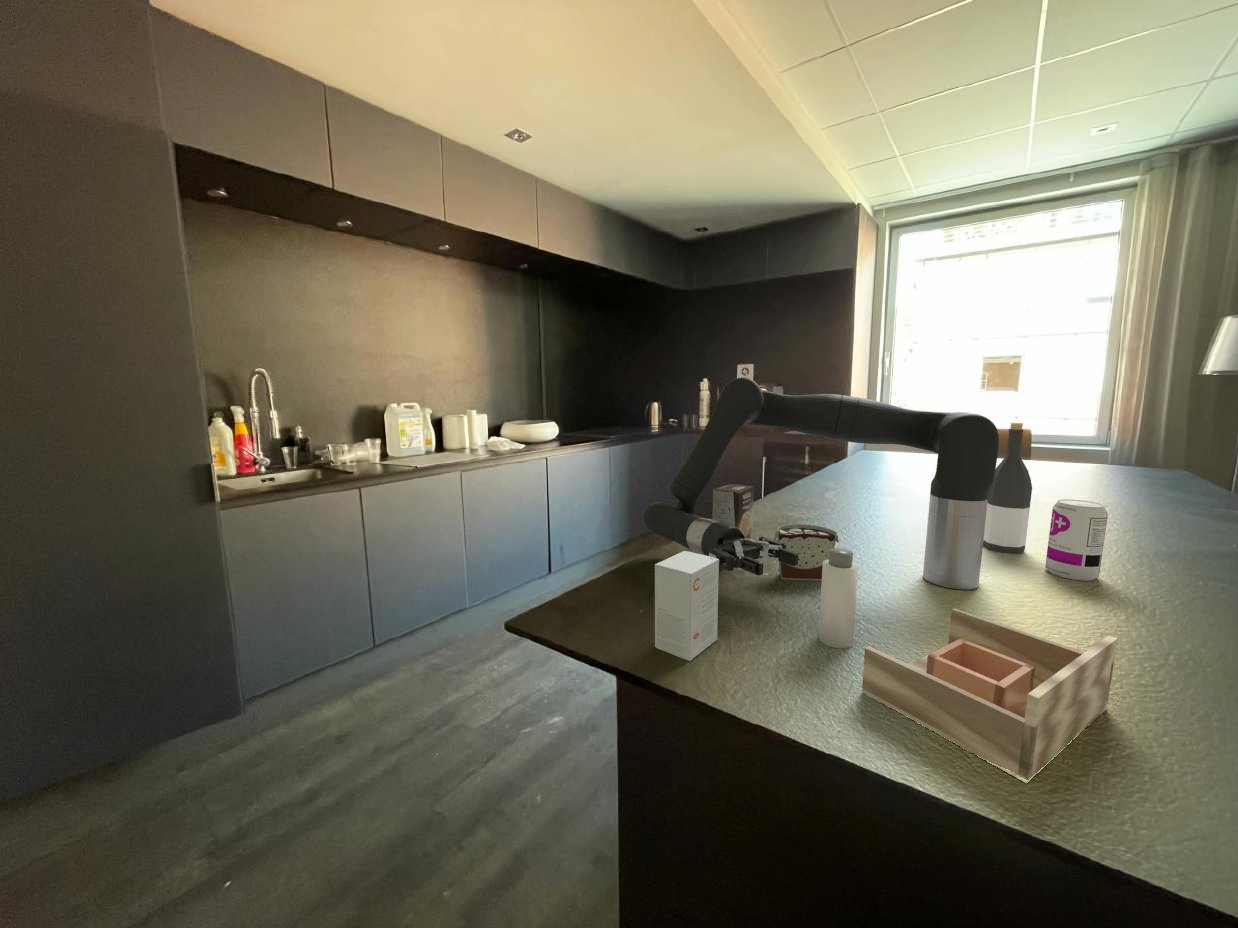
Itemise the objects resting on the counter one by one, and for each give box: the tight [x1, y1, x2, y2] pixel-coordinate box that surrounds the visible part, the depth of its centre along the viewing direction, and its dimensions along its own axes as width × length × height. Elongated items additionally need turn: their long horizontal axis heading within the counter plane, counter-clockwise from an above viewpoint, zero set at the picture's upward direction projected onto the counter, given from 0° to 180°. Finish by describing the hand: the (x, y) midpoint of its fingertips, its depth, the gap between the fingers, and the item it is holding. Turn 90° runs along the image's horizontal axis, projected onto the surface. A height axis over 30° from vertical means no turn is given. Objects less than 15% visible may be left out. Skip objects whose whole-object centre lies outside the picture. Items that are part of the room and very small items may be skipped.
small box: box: [654, 550, 720, 662], centre depth 73 cm, size 8×6×13 cm
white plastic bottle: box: [818, 547, 859, 649], centre depth 73 cm, size 5×5×14 cm
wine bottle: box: [983, 422, 1033, 555], centre depth 115 cm, size 8×8×30 cm
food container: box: [773, 523, 840, 582], centre depth 101 cm, size 12×6×10 cm, turn 84°
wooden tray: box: [861, 607, 1118, 780], centre depth 59 cm, size 22×17×9 cm
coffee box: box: [711, 483, 755, 539], centre depth 112 cm, size 9×6×16 cm
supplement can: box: [1044, 498, 1109, 582], centre depth 100 cm, size 8×8×15 cm
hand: (779, 564), depth 83 cm, fingers open, 8 cm apart
